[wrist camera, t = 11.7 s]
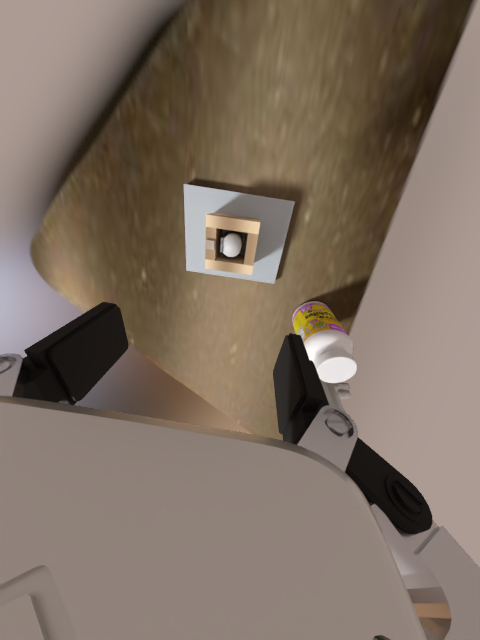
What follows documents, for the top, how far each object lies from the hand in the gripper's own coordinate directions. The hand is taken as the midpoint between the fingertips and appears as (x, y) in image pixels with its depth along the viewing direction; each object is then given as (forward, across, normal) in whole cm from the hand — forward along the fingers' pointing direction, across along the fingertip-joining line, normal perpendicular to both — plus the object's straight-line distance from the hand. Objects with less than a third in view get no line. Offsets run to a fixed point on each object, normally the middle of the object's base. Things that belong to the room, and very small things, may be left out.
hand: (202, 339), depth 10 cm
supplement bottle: (+21, -15, +8) cm, 27 cm away
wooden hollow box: (+20, 0, -2) cm, 20 cm away
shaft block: (+21, 0, -3) cm, 21 cm away
